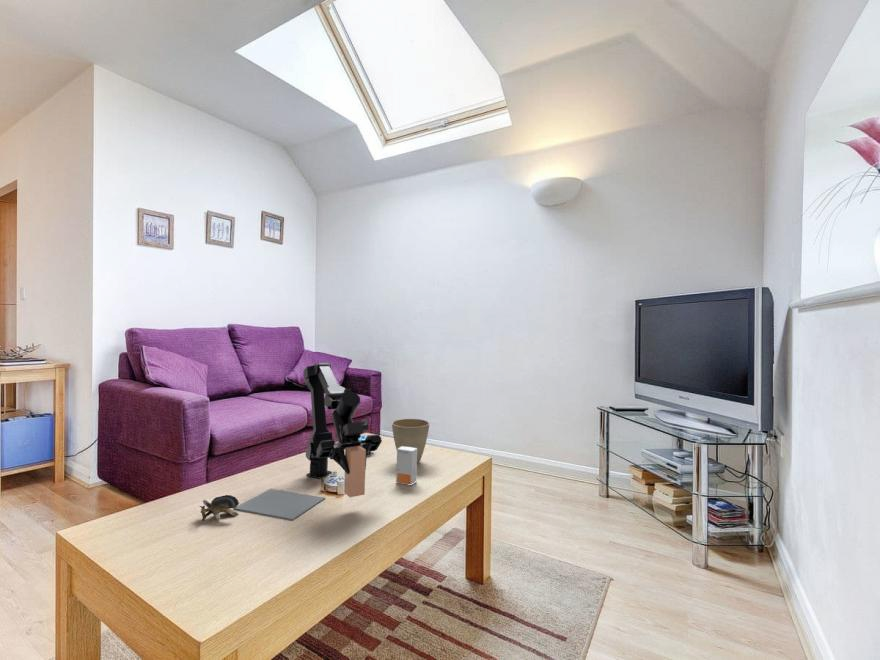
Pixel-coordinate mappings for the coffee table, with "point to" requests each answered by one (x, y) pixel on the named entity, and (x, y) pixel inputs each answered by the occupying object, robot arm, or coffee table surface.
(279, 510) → the mat
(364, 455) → the block
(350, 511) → the coffee table surface
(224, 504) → the grey brown animal figure
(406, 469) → the skincare box
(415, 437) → the plant pot
